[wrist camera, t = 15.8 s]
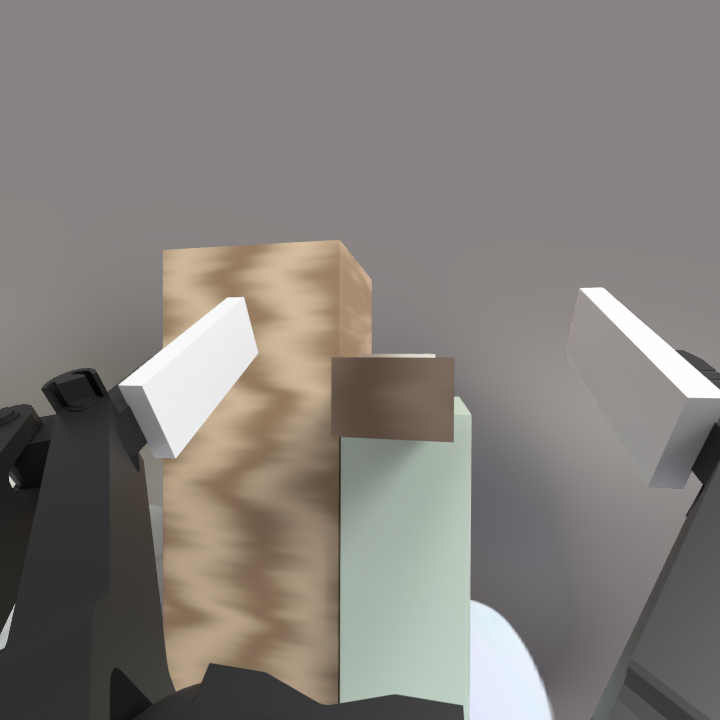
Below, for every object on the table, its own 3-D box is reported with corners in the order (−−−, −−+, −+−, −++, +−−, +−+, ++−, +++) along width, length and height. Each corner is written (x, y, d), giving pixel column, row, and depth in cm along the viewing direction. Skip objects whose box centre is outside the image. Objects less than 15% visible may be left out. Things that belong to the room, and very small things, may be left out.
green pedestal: (339, 765, 21) (341, 410, 21) (367, 644, 30) (368, 394, 29) (468, 794, 20) (471, 414, 19) (457, 658, 28) (459, 396, 28)
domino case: (331, 436, 14) (331, 353, 14) (393, 388, 36) (393, 355, 36) (453, 442, 13) (454, 353, 13) (441, 389, 35) (441, 355, 35)
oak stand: (163, 700, 25) (163, 250, 24) (250, 589, 36) (250, 284, 36) (337, 737, 22) (339, 239, 22) (370, 606, 34) (371, 280, 34)
